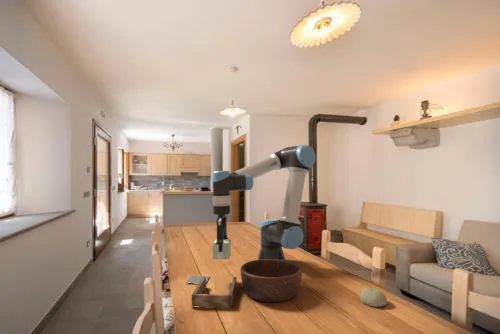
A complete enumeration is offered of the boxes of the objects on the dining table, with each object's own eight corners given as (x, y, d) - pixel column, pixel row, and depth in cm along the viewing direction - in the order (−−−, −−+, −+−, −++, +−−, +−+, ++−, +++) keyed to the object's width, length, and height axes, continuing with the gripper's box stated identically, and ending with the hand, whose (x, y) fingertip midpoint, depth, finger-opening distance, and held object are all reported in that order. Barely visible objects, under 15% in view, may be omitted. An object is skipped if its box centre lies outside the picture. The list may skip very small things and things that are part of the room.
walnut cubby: (236, 287, 123) (236, 277, 123) (231, 308, 103) (231, 295, 103) (203, 287, 123) (203, 276, 123) (191, 307, 104) (191, 295, 104)
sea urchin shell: (375, 306, 101) (363, 284, 106) (364, 315, 106) (352, 293, 111) (394, 301, 104) (381, 280, 110) (382, 310, 109) (370, 290, 115)
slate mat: (209, 277, 136) (209, 276, 136) (205, 284, 127) (205, 283, 127) (190, 277, 136) (190, 275, 136) (185, 284, 127) (185, 283, 127)
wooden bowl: (242, 281, 130) (242, 258, 131) (298, 281, 130) (297, 258, 130) (238, 306, 105) (238, 277, 106) (307, 306, 105) (306, 278, 105)
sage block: (230, 254, 132) (230, 239, 133) (228, 259, 125) (228, 243, 126) (215, 254, 133) (215, 239, 133) (212, 259, 126) (212, 243, 126)
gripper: (216, 202, 140) (217, 250, 139) (209, 207, 120) (209, 263, 119) (232, 202, 139) (233, 250, 139) (226, 207, 120) (227, 263, 119)
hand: (222, 256), depth 129 cm, fingers closed on sage block, 7 cm apart
